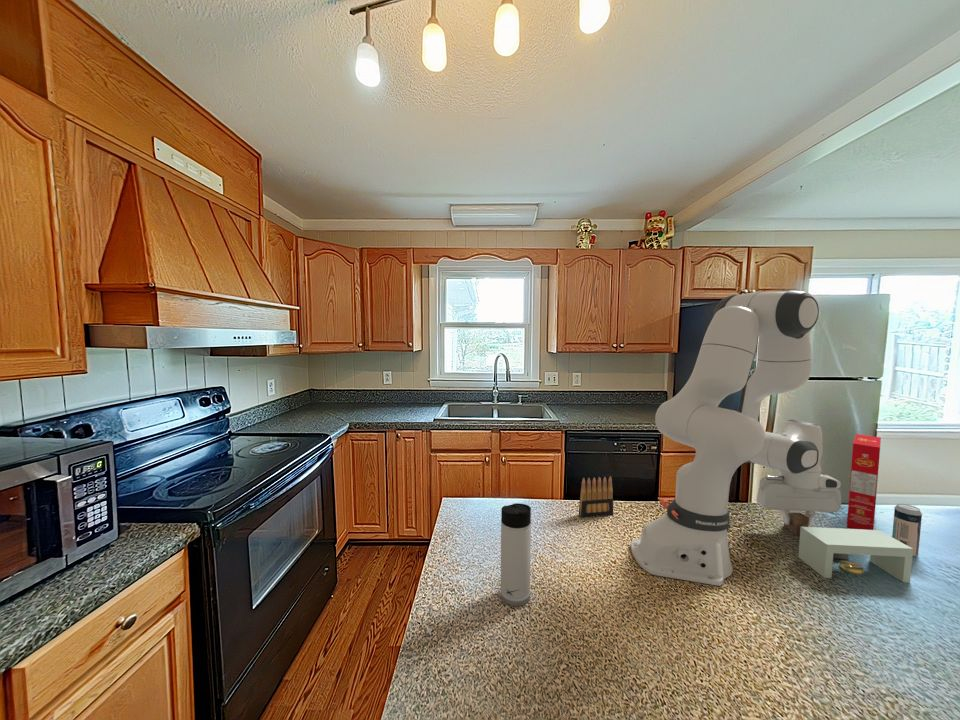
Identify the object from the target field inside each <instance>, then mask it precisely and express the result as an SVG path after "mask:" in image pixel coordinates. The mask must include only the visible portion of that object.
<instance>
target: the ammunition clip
mask: <svg viewBox="0 0 960 720" xmlns="http://www.w3.org/2000/svg"><path fill="white" fill-rule="evenodd" d="M612 481H613V479H612V476H610V475H609V477H608V481H607V478H606V476H604V477H603V479H602V478H601V477H600V476H598V478H597V480H596V478H595V476H594V477H593V478H592V480H591V479H590V477H587V481H586V480H585V477H583V478H582V481H581V486H580V487H581V488H580V494H579V495H580V497H579V505H578V515H579V516H580V517H581V518H590V517H602V516H603V517H604V516H613V515H614V498H613V491H614V490H613V482H612Z"/></svg>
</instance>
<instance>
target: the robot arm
mask: <svg viewBox="0 0 960 720" xmlns="http://www.w3.org/2000/svg"><path fill="white" fill-rule="evenodd" d="M819 313H820V308H819V304H818V301H817V299H816V298H815V297H814V296H813V295H812V294H810V293H809V292H807V291H801V290H788V291H763V290H761V291H754V292H753V291H752V292H747V293H742V294H732V295H729V296H726V297H723V298H722V299H721V300H719V302H718V303H717V305H716V306H715V308H714V311H713V317H712V319H711V321H710V322H709V325H708V326H707V328H706V329H707V330H706V332H705V334H704V337H703V340H702V343H701V346H700V349H699V352H698V355H697V358H696V362H695V364H694V367H693V370H692V372H691V374H690V376H689V378H688V380H687V382H686V383H685V384H684V385H683V387H682V388H681V390H680V391H679V392H677V394H675V395H674V396H673V397H672V398H670V399H669V400H666V401H664V402H663V403H661V404H660V405H659V406H658V408H657V410H656V412H655V417H654V422H655V426H656V428H657V430H658V432H659V433H661V434H662V435H664V437H667V438H668V439H670V440H672V441H673V442H675V443H679V444H681V445H685V446H687V447H690V448H693V449H695V456H694V459H693V461H692V462H688V463H685V464H684V465H681V467H679V468H678V470H677V471H676V476H675V478H676V480H675V498H674V499H673V500H672V502H671V503H670V501H669V500H668V499H667V498H665V497H664V498H661V499H660V501H659V504H660V506H662V507H663V509H664V510H665V509H667V510H666V513H664V514H663V515H662V516H660V517H658V518H656V519H654V520H652V521H651V522H649V523H646V524H645V525H644V526H643V529H642V532H641V534H640V538H634V539H633V540H631V544H630V551H631V554H632V556H633V558H634V559H635V562H636V563H637V564H638V565H639V566H640V567H641V568H642V569H643V570H644V571H646V572H647V573H649V574H650V575H653V576H658V577H665V578H670V579H677V580H683V581H687V582H694V583H699V584H705V585H706V584H707V585H713V586H717V587H719V586H723V585H724V582H725V581H724V580H725V579H726V578H729V577H730V576H731V575H732V574H733V571H734V568H733V564H732V562H731V558H730V557H731V556H730V551H729V542H728V532H729V530H730V510H729V508H728V505H729V496H730V486H731V482H732V477H733V476H734V474H735V472H736V471H737V469H738V468H739V467H740V466H741V465H742V464H744V463H750V464H753V465H759V466H762V467H763V466H764V467H766V468H770V469H774V470H778V471H779V475H776V476H775V475H765V476H764V477H762V478H761V479H760V480H759V485H758V486H759V487H758V491H757V495H756V496H757V497H756V502H757V503H758V504H759V506H761V507H762V508H763V509H765V510H771V511H772V510H774V511H775V510H776V511H779V512H780V514H781V515H782V517H783V519H782V521H783V524H784V523H785V524H787V525H793V519H792V518H790V517H789V516H788V514H789V513H790V510H796V511H799V512H805V513H803V514H804V515H805V516H807V517H808V518H809V526H810V525H811V520H812V519H813V518H814V516H816V512H820V513H821V512H825V513H838V512H839V511H840V510H841V507H842V492H841V490H840V488H841V485H842V482H841V481H840V480H838V479H836V478H835V477H832V476H830V475H828V474H825V473H823V472H822V466H821V458H822V457H823V450H824V449H823V448H824V447H823V445H824V444H823V441H824V440H823V433H822V428H821V425H818V424H817V423H813V422H809V421H802V420H797V419H788V420H786V421H785V423H784V426H783V432H782V433H781V434H778V433H775V432H770V431H765V429H764V427H763V426H762V425H763V424H762V423H761V422H760V421H759V416H760V410H761V406H762V405H761V404H762V401H763V400H764V399H765V398H767V397H768V396H773V395H778V394H783V393H788V392H791V391H794V390H797V389H799V388H800V387H802V386H803V385H805V384H806V383H807V382H808V380H809V379H810V377H811V373H812V372H811V371H812V348H811V347H812V346H811V338H810V333H809V332H810V331H811V330H812V329H813V328H814V327H815V325H816V323H817V322H818V319H819ZM756 350H757V361H756V362H757V363H756V367H755V370H754V372H753V373H752V374H751V375H750V371H751V367H752V364H753V360H754V357H755V353H756ZM739 391H741V393H740V398H739V404H738V407H737V410H733V409H728V408H723V407H720V406H719V405H720V404H721V402H722V401H724V399H725V398H726V397H728V396H729V395H732V394H735V393H737V392H739Z"/></svg>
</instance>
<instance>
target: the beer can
mask: <svg viewBox="0 0 960 720" xmlns="http://www.w3.org/2000/svg"><path fill="white" fill-rule="evenodd" d="M893 511H894V513H893V521H892V522H893V523H892V536H891V537H892V538H894V539H896V540H898V541H900V542H902V543H904V544H905V545H907V546H909V547H911V548H913V557H917V556H919V554H920V553H919V552H920V551H919V549H920V538H921V528H922V527H921V526H922V517H923V513H922V511H921V510H920V508H918V507H916V506H914V505H910V504H905V503H897V504H896V505H895V506H894V510H893Z"/></svg>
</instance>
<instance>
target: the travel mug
mask: <svg viewBox="0 0 960 720" xmlns="http://www.w3.org/2000/svg"><path fill="white" fill-rule="evenodd" d="M500 510H501V521H500V598H501V600H502V601H503V603H505V604H506V605H509V606H512V607H519V606H520V607H521V606H524V605H525V604H528V602H529V601H530V598H531V553H532V552H531V545H532V543H531V542H532V538H531V537H532V536H531V535H532V521H531V519H532V508H531V506H530V505H528V504H525V503H517V502H515V503H512V504H509V505H504V506H502V507H501V509H500Z"/></svg>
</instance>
